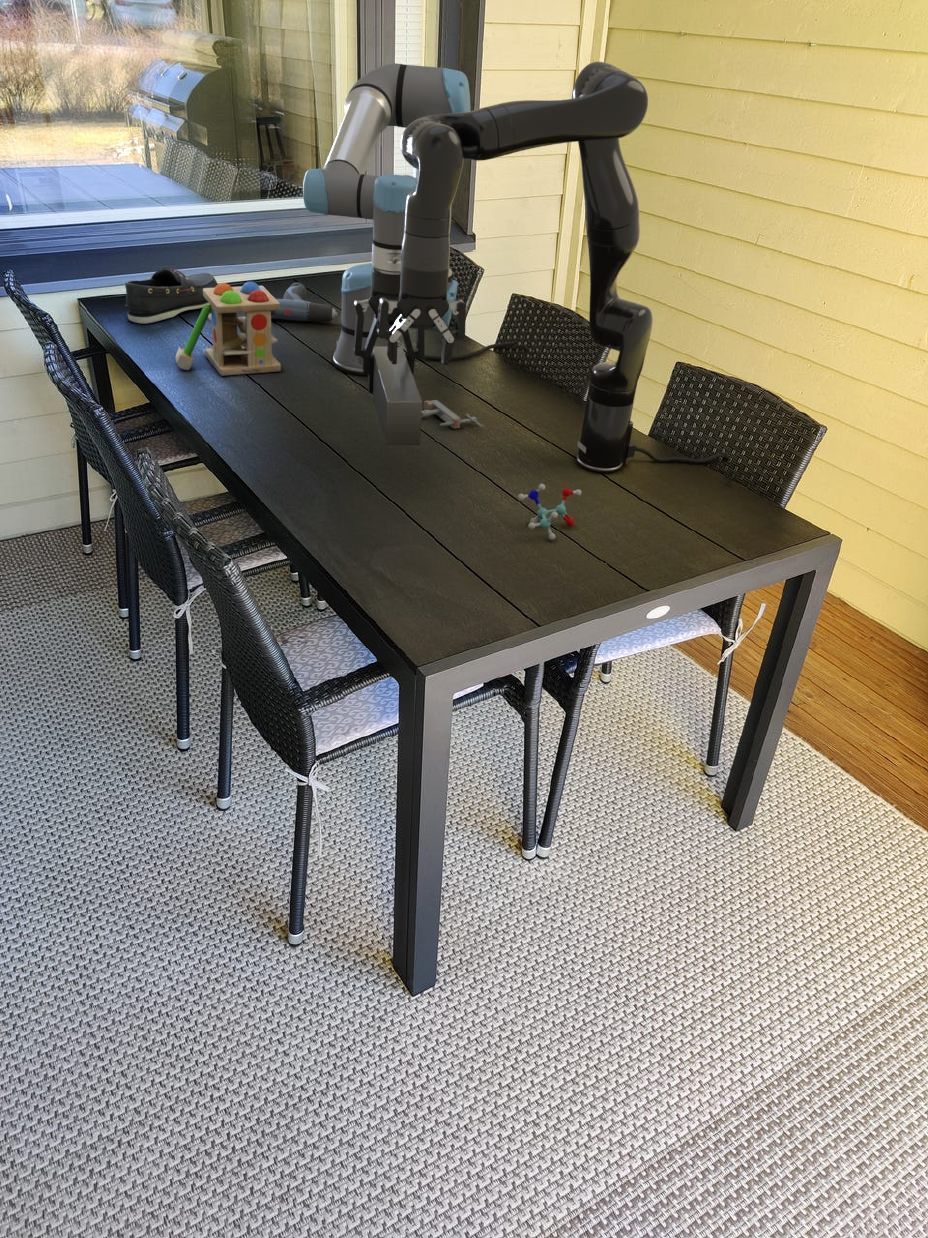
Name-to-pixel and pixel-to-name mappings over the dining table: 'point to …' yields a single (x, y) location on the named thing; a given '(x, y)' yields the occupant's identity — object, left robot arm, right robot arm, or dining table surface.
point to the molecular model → (554, 512)
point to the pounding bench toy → (229, 347)
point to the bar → (396, 398)
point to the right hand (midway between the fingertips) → (419, 362)
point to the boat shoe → (166, 295)
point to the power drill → (301, 307)
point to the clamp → (446, 414)
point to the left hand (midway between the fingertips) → (387, 390)
